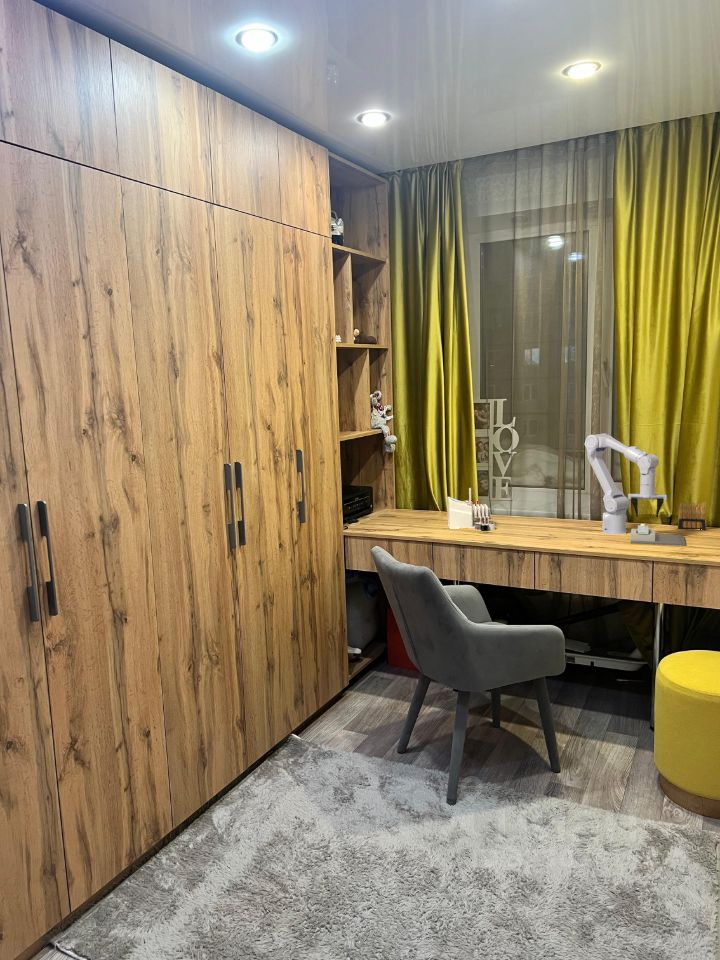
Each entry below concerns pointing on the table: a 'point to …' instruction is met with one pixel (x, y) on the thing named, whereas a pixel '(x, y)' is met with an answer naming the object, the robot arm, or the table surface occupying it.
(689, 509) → the ammunition clip
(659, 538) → the servo chassis
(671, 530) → the table surface
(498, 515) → the table surface
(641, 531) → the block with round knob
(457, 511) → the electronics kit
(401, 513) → the table surface
